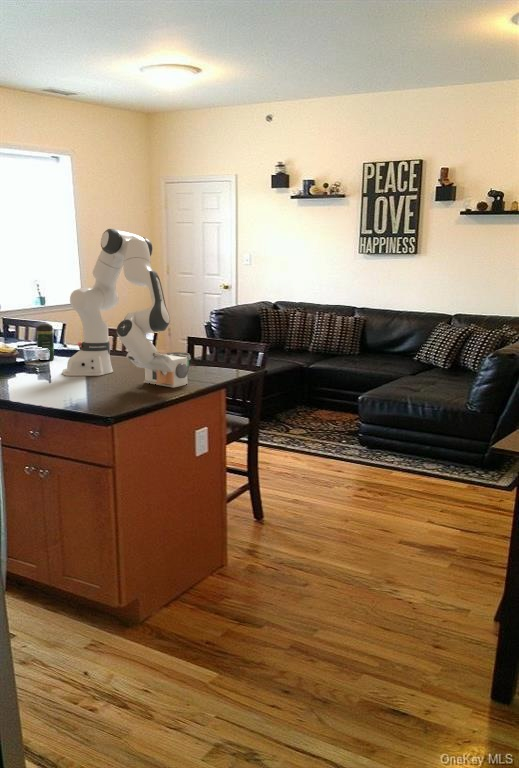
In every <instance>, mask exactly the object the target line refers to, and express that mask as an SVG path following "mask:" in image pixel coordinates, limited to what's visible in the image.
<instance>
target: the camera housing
mask: <svg viewBox="0 0 519 768" xmlns="http://www.w3.org/2000/svg"><path fill="white" fill-rule="evenodd" d="M167 356H168V357H169V358H170V359H171V360H172V361H173V362H174V363H175V364H176V367H175V369H174V385H170V384H165V383H162V384H157V373H156V372H154V371H153V370H151V369H147V368H144V380H143V383H145V384H149V383H150V384H151V385H155V384H156V385H155V386H163V387H166V388H167V387H168V388H177V387H182V386H186V384H187V385H188V383H189V382H188V378H189V376H187V374H188V375H189V369H188V367H187V357H180V356H172V355H167Z"/></svg>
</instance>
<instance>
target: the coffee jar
mask: <svg viewBox="0 0 519 768" xmlns="http://www.w3.org/2000/svg"><path fill="white" fill-rule="evenodd" d="M36 343H37V347H42V348H48V349H49V350H50V360H49V361H53V360H54V359H55V350H54V349H55V347H54V346H55V345H54V344H55V342H54V328H53V325H52V324H50V323H45V322H44V323H42V322H41V323H40V324H38V325H37V326H36Z"/></svg>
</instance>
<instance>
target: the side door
mask: <svg viewBox="0 0 519 768" xmlns="http://www.w3.org/2000/svg"><path fill="white" fill-rule="evenodd" d="M161 372H162V371H160V370H157V384H162V383H165V384H170V385H174V370H173V372H167V374H166V375H162V374H161Z"/></svg>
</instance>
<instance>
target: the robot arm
mask: <svg viewBox="0 0 519 768" xmlns="http://www.w3.org/2000/svg"><path fill="white" fill-rule="evenodd" d="M100 247H101V251H100V253H99V255H98V257H97V258H96V259H97V260H96V261H95V264H94V267H93V269H92V274H93V277H94V278H95V281H94V284H93V286H87V287H85V286H84V287H80V288H77V289H75V290H73V291H72V292H71V294H70V296H69V303H70V305H71V307H72V309H73V310H74V311H75V312H77V314H78V316H79V318H80V322H81V324H82V333H83V334H82V335H83V341H78V343H77V346H78V347H79V348H78V349H79V350H78V351H77V352H76V353H74V354H73V355H72V356H71V357H69V358H68V361H67V363H66V364H67V365H66V368H65V369H64V368H63V370H62V373H61V374H62V375H64V376H66V377H70V376H71V377H76V376H77V377H80V376H81V377H83V376H85V377H86V376H87V377H88V376H89V377H90V376H91V377H94V376H97V377H98V376H103V375H107V374H111V373H113V372H114V369H113V367H112V362H111V356H110V353H111V343H110V339H109V325H108V322H106V321H105V320H104V319H103V317H102V315H101V312H102V311H108V310H111V309H113V308H115V307H116V306H117V305H118V304H119V303H118V302H119V294H118V292H117V290H116V288H117V287H116V286H117V282H118V279H119V276H120V273H121V271H122V269H123V275H124V277H125V279H126V280H127V281H128V282H129V283H131V284H133V285H134V286H139V287H145V288H148V289H149V294H150V298H151V299H150V300H151V303H152V304H151V306H149V307H147V308H143V309H140V310H135V311H132V312H129V313H127V314H126V315H125V316H124V320H122V321H120V322H119V323H118V325H117V327H116V334H117V337H118V338H119V340H120V342H121V344H122V345H123V346H124V347H125V348H126V349H127V350H128V352H127V354H126V358H127V359H128V360H130V362H131V364H133V365H134V366H135V367H137V368H140V369H141V368H142V369H145V368H147V369H151V370H153V371H154V372H156V373H157V370H160V371H162V372H161V374H162V375H166V374H167V372H173V370H174V369H175V367H176V364H175V363H174V362H173V361H172V360H171V359H170V358H169V357H168V356H167V355H166V354H164V353H157V352H158V349H157V347H156V346H155V345H154V344H153V343H152V341H151V340H150V339H148V338H147V337H146V336H147V334H151V333H152V334H153V333H158V332H159V333H160V332H165V331H166V330H167V328H168V327H169V325H170V322H171V318H170V314H169V311H168V308H167V305H166V300H165V297H164V291H163V287H162V282H161V279H160V276H159V274H158V273H157V272H156V271H155V270H153V268H152V261H151V256H152V254H153V244H152V241H150V240H149V239H148V238H146V237H143V236H140V235H138V234H135V233H134V232H133V233H132V232H127V231H123V230H118V229H117V228H107V229H106V230H105V231H103V233H102V235H101V239H100Z"/></svg>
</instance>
